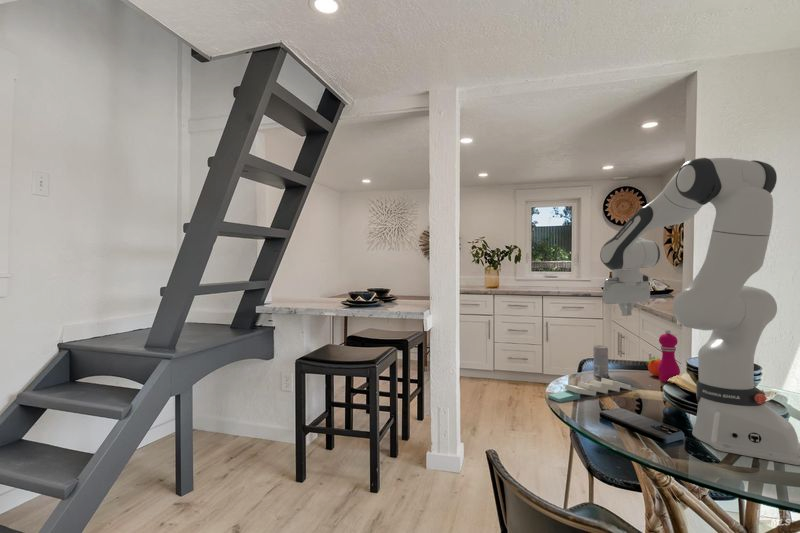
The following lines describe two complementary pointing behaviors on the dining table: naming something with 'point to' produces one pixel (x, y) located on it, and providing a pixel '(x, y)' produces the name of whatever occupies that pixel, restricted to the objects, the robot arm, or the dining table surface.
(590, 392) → the domino
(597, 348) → the energy drink
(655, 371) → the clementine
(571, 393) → the domino
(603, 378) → the domino
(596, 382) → the domino
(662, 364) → the pepper mill
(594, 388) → the domino
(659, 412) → the dining table surface
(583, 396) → the mat
